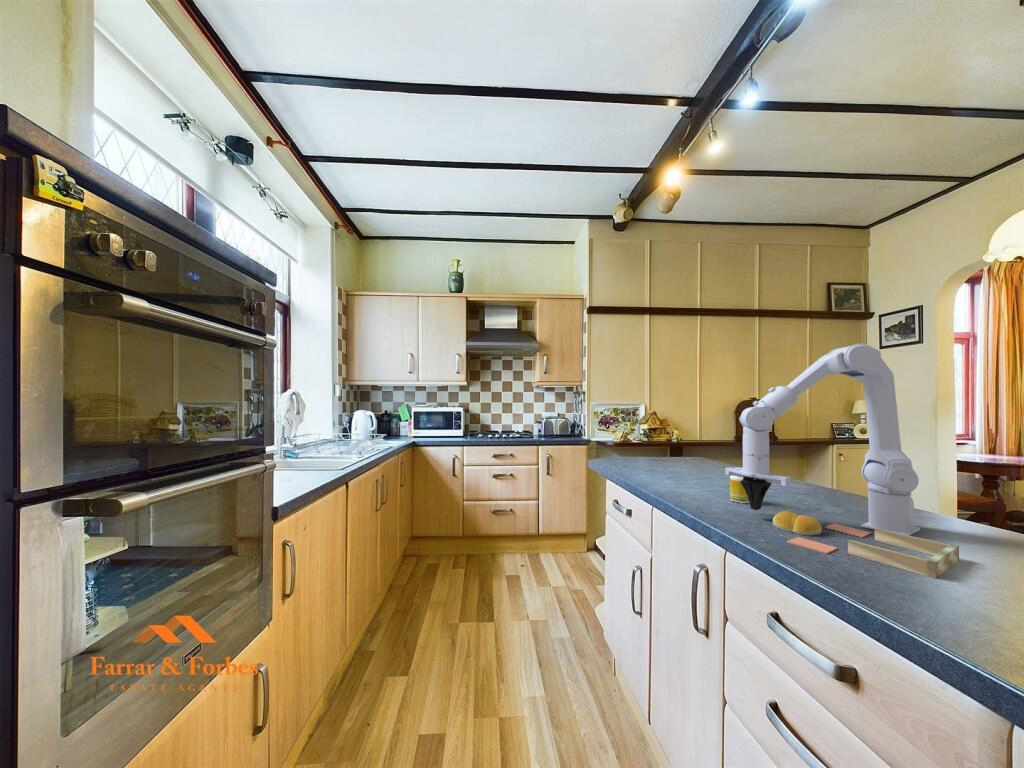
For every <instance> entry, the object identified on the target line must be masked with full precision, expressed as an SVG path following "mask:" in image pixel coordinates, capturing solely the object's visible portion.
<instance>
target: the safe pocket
mask: <svg viewBox="0 0 1024 768" xmlns="http://www.w3.org/2000/svg"><path fill="white" fill-rule="evenodd" d="M875 540H876V541H875ZM874 541H875V542H878V541H879V543H883V544H886V545H887V544H888V545H891V546H895V547H899V548H902V549H906V550H911V551H914V552H919V553H923V554H928V555H931V557H930V558H928V559H926V558H922V557H918V556H914V555H910V554H907V553H902V552H898V551H896V550H895V551H894V550H891V549H886V548H883V547H880V546H875V545H871V544H867V543H864V542H859V541H857V540H851V539H848V540H847V554H849V555H852V556H855V557H858V558H863V559H865V560H869V561H873V562H877V563H880V564H884V565H888V566H890V567H894V568H898V569H901V570H905V571H908V572H911V573H916V574H919V575H923V576H926V577H930V578H933V579H937V578H938V577H939V576H941V575H942V574H944V573H945V572H946V571H947V570H949V569H950V568H951V567H952V566H955V564H956V563H958V561H960V545H958V544H953V543H951V544H947V543H943V542H938V541H935V540H931V539H925V538H921V537H916V536H912V535H910V536H909V535H904V534H900V533H895V532H891V531H886V530H882V529H878V528H876V529H875V530H874Z"/></svg>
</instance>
